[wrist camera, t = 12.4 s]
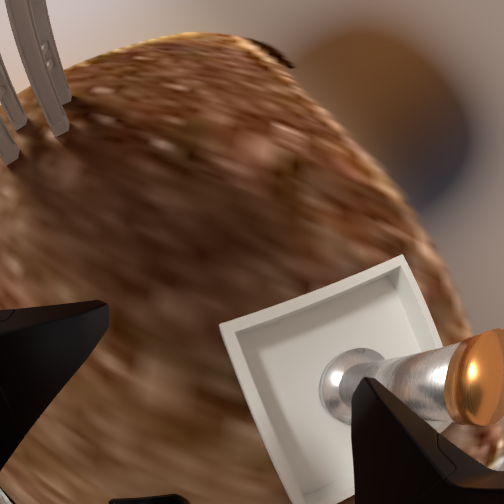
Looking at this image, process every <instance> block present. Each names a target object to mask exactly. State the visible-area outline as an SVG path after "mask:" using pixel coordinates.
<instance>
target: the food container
mask: <svg viewBox="0 0 504 504" xmlns="http://www.w3.org/2000/svg"><path fill="white" fill-rule="evenodd" d="M0 504H12V502H10V501H9V500H8V497H7V496H6V495H5V494H4V493H3V491H2V490H1V489H0Z"/></svg>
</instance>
